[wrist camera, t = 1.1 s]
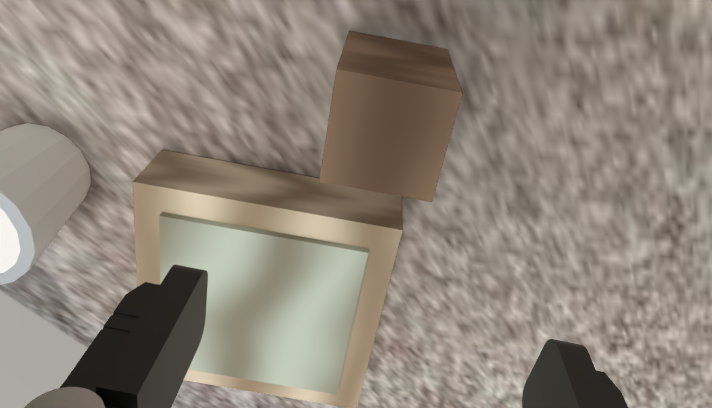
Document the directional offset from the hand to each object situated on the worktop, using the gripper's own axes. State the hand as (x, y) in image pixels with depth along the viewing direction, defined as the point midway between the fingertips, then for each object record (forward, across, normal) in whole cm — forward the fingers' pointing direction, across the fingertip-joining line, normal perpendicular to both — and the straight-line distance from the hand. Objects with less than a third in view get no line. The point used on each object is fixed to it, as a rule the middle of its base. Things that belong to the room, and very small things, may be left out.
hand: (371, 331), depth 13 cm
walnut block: (+18, 0, 0) cm, 18 cm away
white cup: (+18, +19, +9) cm, 28 cm away
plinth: (+18, +5, +13) cm, 23 cm away
